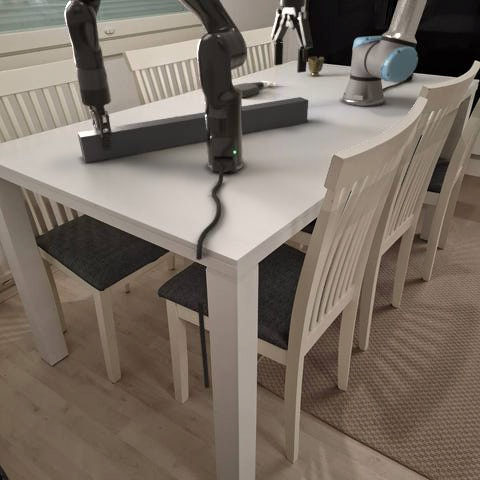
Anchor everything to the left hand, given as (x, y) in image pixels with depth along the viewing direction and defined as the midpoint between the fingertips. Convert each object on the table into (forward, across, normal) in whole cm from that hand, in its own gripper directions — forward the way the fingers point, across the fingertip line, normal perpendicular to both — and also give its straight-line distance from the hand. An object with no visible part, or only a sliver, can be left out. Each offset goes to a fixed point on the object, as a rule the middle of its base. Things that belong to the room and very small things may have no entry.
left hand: (105, 145), depth 126 cm
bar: (+3, 0, -30) cm, 31 cm away
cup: (+3, +55, -111) cm, 124 cm away
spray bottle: (+3, +44, -71) cm, 84 cm away
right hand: (-15, 0, -61) cm, 63 cm away
